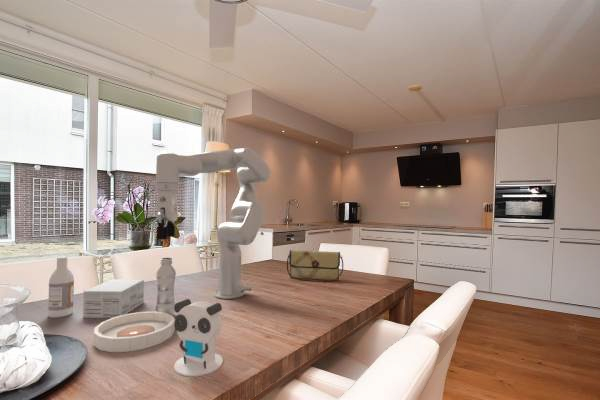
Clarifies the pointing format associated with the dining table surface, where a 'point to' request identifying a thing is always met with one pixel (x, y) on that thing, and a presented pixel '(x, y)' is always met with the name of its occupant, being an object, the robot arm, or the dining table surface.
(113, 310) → the supplement box
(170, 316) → the round tray
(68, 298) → the bath foam
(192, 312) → the panda figurine
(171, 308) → the plastic bottle
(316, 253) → the clutch purse
